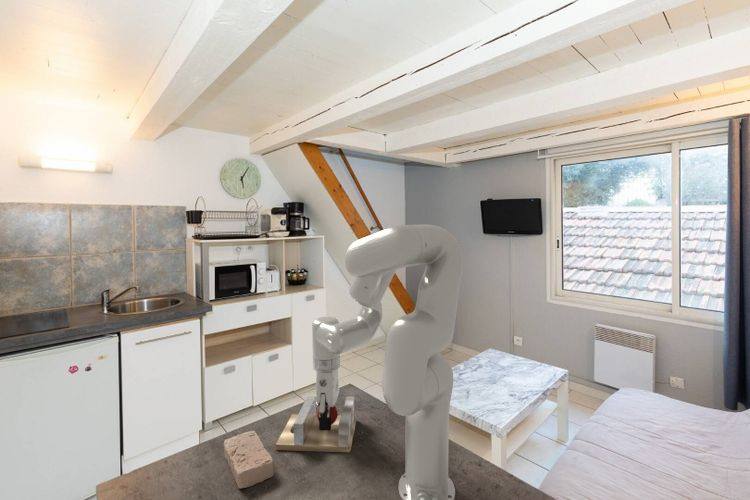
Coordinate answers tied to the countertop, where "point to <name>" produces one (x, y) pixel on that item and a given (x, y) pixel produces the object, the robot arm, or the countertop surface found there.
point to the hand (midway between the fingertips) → (327, 422)
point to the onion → (332, 413)
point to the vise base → (324, 433)
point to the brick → (248, 459)
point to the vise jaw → (304, 420)
